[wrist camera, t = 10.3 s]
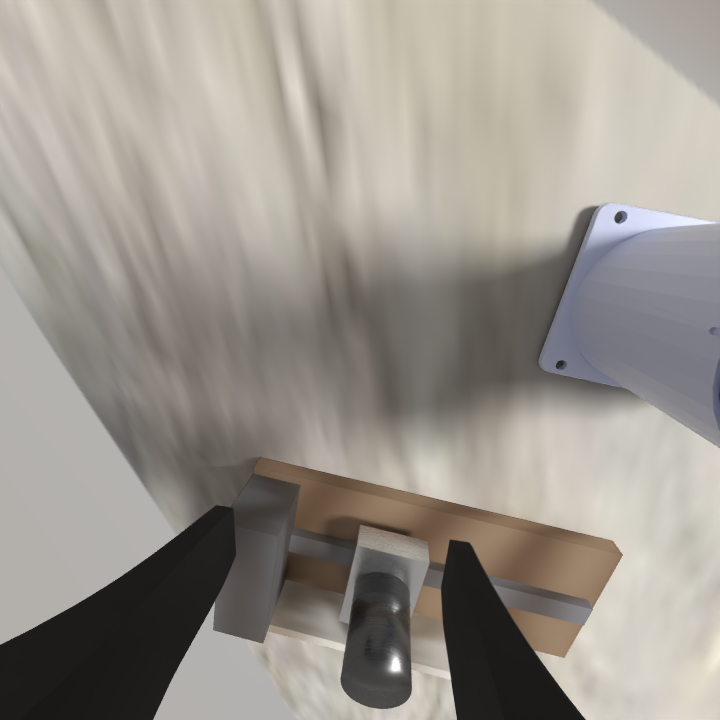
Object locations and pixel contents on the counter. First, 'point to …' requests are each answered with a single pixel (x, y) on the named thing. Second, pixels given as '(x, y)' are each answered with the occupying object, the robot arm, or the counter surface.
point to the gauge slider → (381, 616)
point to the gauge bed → (406, 517)
